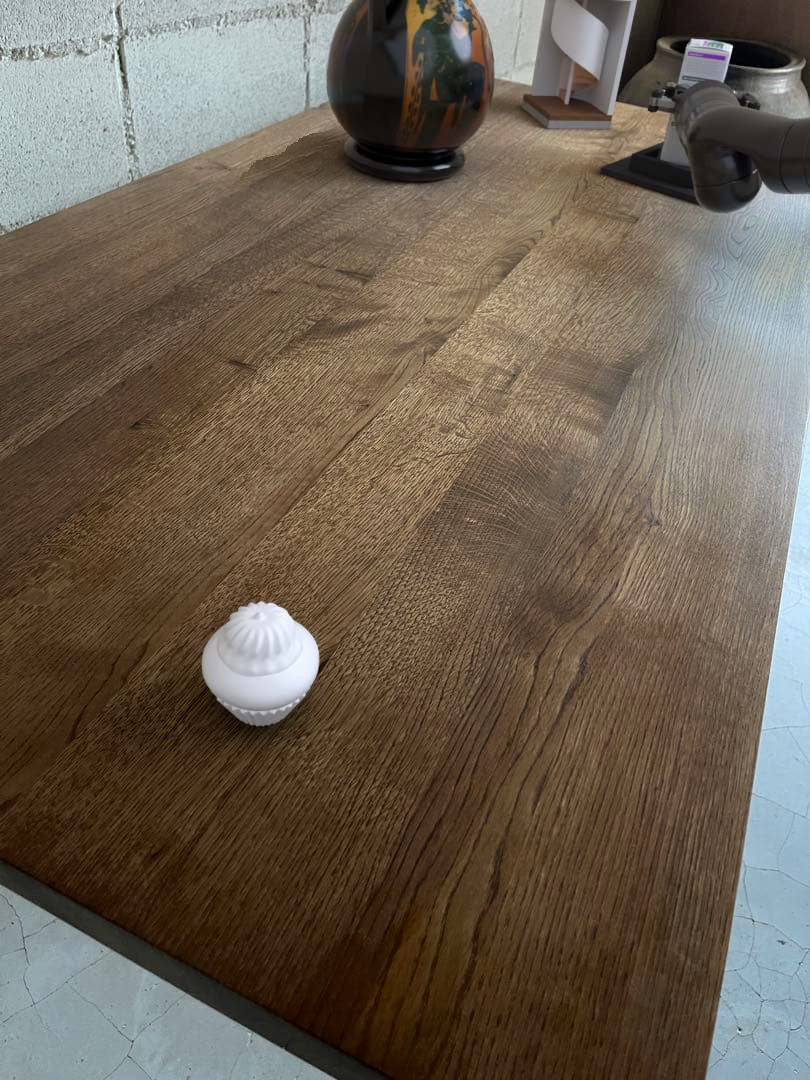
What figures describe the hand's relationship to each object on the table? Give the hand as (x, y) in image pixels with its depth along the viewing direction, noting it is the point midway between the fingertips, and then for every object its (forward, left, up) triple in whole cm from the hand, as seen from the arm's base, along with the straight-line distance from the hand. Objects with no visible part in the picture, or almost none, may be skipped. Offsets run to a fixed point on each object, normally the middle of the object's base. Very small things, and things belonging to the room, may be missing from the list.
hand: (696, 89), depth 124 cm
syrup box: (-1, +2, -9) cm, 9 cm away
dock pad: (-1, +2, -11) cm, 11 cm away
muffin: (-28, +108, -11) cm, 112 cm away
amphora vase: (+26, +30, -11) cm, 41 cm away
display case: (+25, -10, -11) cm, 29 cm away
